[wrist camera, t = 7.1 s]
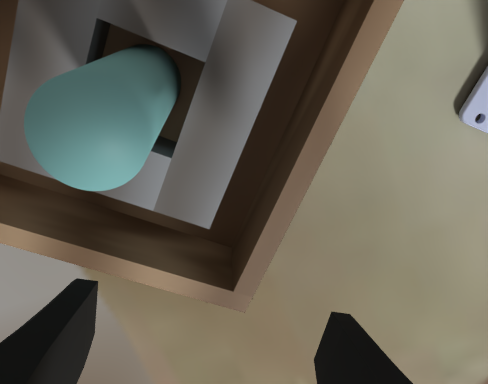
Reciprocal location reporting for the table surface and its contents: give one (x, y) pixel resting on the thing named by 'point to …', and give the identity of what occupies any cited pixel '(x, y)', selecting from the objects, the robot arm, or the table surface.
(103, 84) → the peg
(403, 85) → the table surface
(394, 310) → the table surface
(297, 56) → the box
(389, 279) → the table surface
